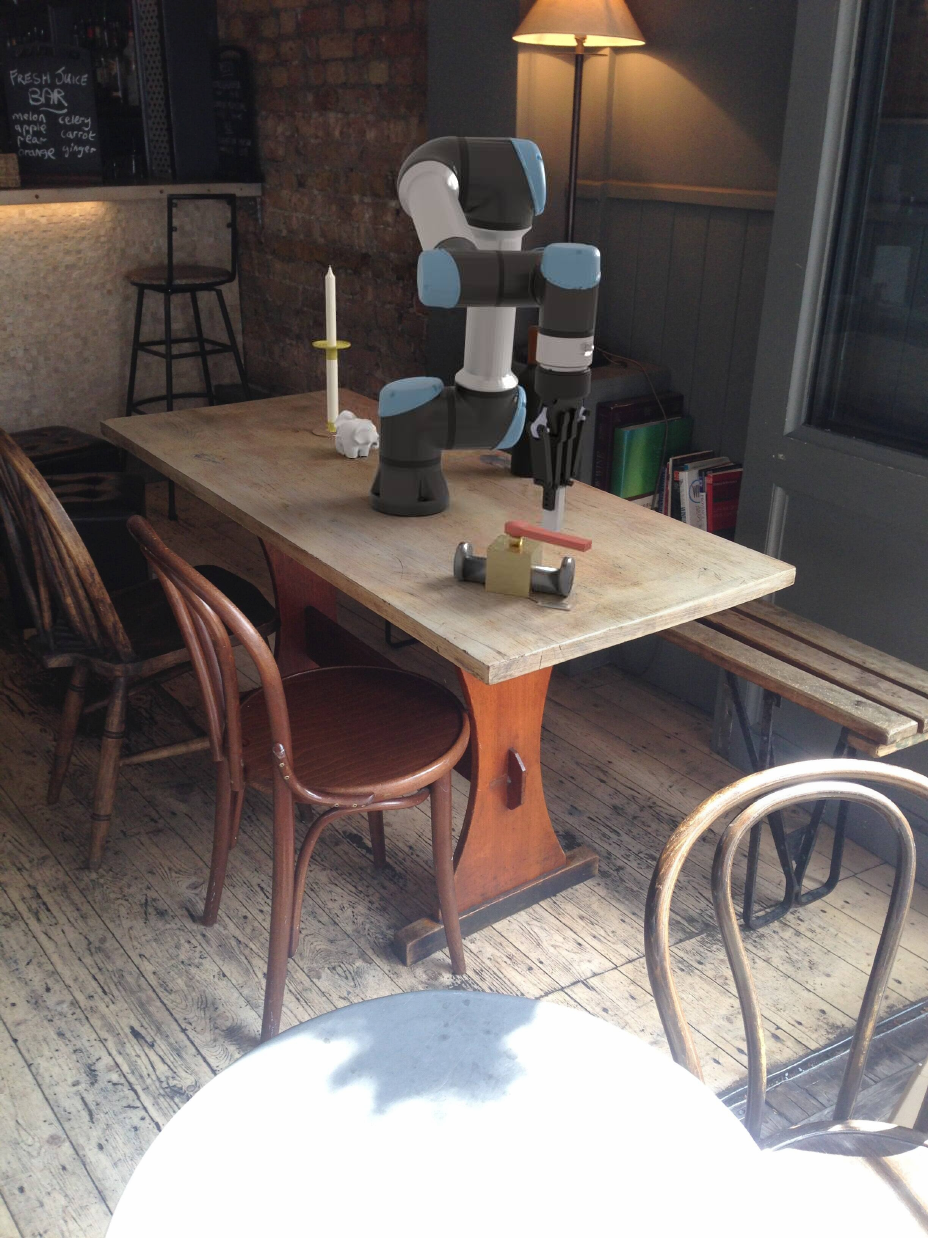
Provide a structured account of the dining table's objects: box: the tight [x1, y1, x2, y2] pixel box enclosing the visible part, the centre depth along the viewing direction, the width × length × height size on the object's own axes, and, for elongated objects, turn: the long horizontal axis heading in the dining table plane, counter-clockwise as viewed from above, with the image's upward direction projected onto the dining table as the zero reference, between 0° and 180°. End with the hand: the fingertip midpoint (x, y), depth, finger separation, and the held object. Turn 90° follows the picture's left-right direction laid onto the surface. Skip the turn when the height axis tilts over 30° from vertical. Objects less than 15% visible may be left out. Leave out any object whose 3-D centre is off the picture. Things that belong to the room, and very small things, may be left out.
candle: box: [312, 266, 351, 432], centre depth 248 cm, size 10×10×38 cm
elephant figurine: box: [333, 410, 379, 459], centre depth 237 cm, size 10×12×9 cm
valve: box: [452, 534, 576, 611], centre depth 169 cm, size 20×9×9 cm, turn 71°
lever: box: [503, 520, 593, 553], centre depth 165 cm, size 14×4×1 cm, turn 56°
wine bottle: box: [510, 325, 541, 479], centre depth 224 cm, size 8×8×30 cm
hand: (551, 528), depth 158 cm, fingers closed
